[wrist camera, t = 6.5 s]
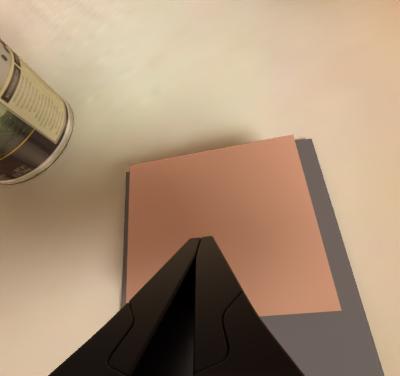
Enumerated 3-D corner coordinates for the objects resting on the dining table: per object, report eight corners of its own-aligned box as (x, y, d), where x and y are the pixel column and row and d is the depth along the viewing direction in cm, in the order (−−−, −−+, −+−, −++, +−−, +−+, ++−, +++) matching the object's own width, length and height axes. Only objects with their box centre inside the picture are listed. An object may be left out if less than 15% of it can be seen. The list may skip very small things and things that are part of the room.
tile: (341, 310, 10) (293, 134, 14) (125, 325, 12) (130, 164, 16) (322, 304, 13) (286, 161, 17) (151, 317, 15) (150, 184, 19)
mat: (399, 433, 11) (403, 438, 11) (120, 432, 14) (117, 436, 13) (310, 141, 18) (311, 138, 17) (128, 174, 20) (126, 172, 19)
